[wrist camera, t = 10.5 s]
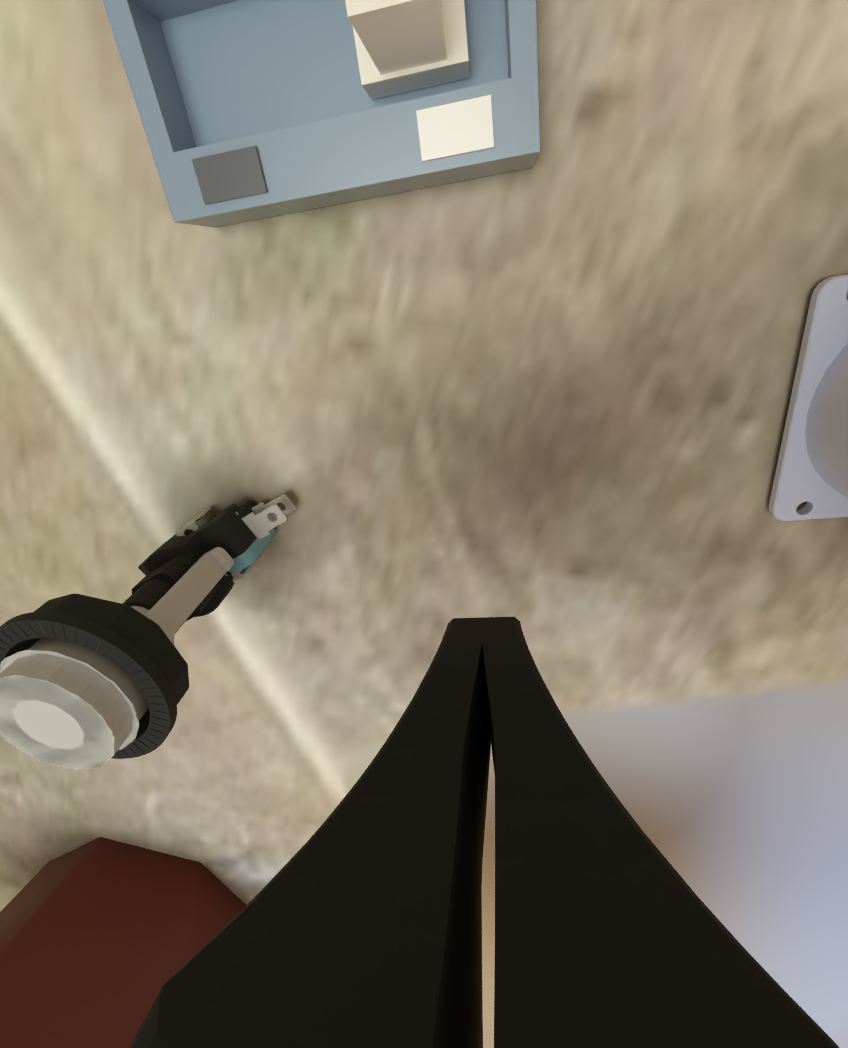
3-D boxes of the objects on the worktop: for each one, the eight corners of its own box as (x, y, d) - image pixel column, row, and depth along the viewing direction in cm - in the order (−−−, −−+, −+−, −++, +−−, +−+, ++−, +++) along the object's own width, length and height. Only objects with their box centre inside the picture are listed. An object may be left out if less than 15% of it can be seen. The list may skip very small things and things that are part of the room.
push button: (255, 443, 19) (60, 595, 10) (334, 546, 21) (225, 748, 12) (144, 513, 21) (-94, 689, 13) (224, 601, 23) (66, 806, 15)
